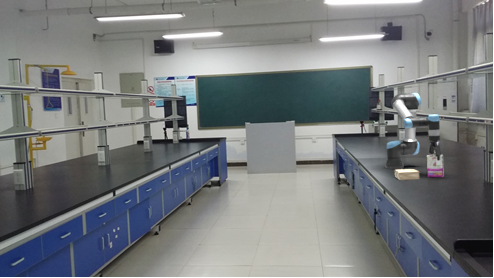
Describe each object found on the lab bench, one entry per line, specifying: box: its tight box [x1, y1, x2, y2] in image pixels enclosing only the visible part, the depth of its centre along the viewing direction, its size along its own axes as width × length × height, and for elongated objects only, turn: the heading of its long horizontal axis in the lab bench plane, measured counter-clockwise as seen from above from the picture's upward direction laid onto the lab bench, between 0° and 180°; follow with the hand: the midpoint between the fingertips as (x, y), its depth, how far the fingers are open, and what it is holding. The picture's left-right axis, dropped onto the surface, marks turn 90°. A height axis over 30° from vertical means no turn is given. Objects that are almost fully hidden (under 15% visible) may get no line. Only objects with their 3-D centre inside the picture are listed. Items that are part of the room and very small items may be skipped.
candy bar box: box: [426, 154, 445, 178], centre depth 312 cm, size 11×5×16 cm, turn 62°
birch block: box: [394, 168, 420, 181], centre depth 314 cm, size 14×14×6 cm
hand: (435, 163), depth 312 cm, fingers open, 13 cm apart
